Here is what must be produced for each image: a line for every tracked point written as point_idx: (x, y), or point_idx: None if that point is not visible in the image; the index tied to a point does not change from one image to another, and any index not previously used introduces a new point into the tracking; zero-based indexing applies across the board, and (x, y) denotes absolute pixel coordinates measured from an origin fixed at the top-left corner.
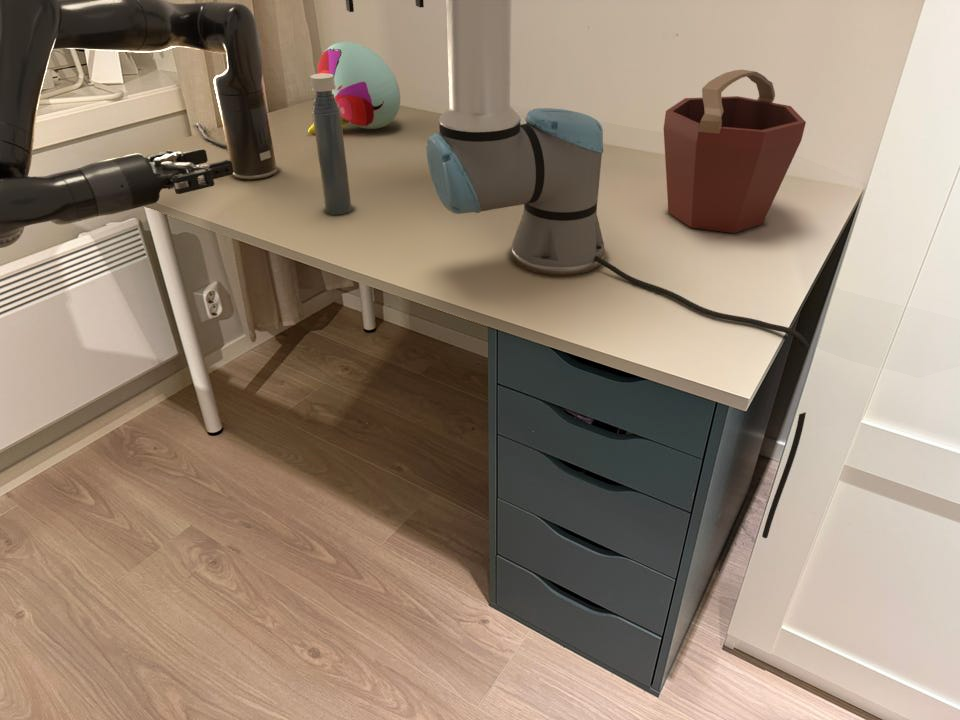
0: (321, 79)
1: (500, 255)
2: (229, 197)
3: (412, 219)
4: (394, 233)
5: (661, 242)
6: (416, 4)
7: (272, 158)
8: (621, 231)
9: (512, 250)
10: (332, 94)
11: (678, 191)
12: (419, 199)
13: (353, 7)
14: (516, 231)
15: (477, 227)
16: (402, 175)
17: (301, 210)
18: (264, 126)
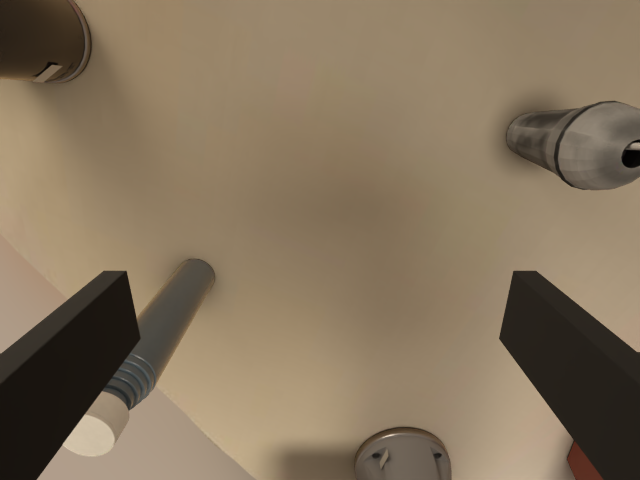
0: (86, 453)
1: (348, 443)
2: (18, 157)
3: (288, 337)
4: (255, 365)
5: (513, 470)
6: (514, 287)
7: (67, 56)
8: (497, 440)
9: (357, 459)
10: (128, 404)
11: (592, 473)
12: (318, 280)
13: (130, 352)
14: (367, 470)
15: (355, 383)
16: (325, 168)
17: (141, 256)
18: (7, 57)
